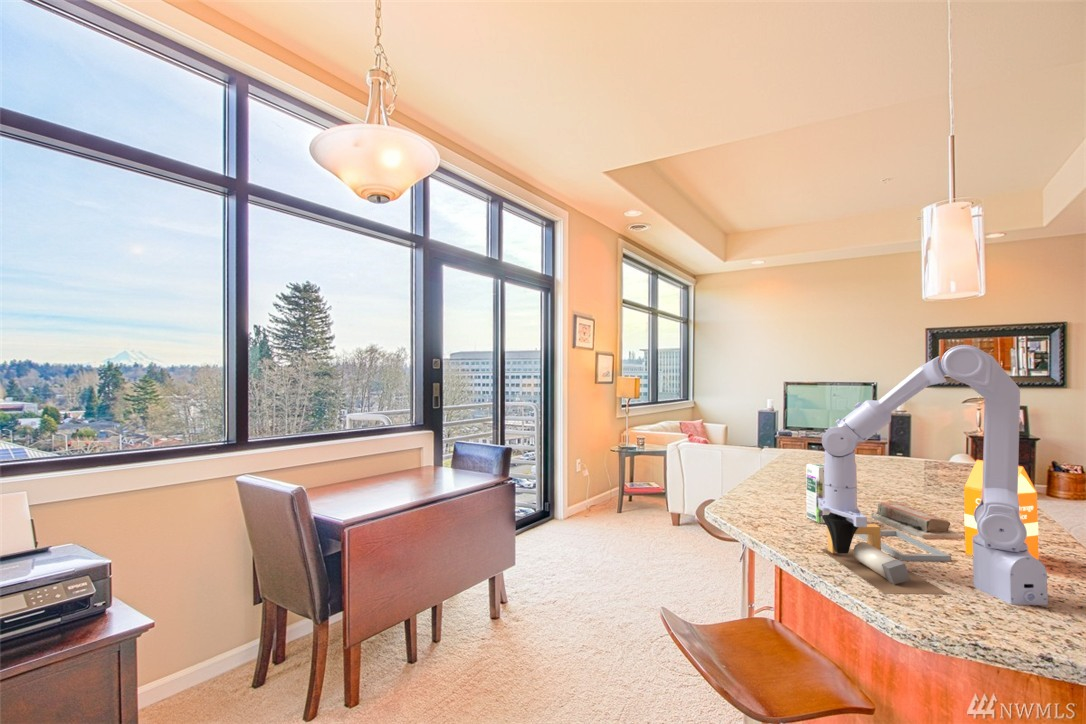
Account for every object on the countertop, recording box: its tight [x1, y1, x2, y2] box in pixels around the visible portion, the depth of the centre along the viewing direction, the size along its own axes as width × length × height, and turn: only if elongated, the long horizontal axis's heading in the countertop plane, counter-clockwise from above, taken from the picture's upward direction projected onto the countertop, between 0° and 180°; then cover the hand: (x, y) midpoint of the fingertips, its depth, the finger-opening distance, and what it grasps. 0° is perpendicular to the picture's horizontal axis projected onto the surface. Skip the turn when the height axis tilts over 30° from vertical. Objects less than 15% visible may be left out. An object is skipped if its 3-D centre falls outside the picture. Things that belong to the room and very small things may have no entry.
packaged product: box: [870, 501, 963, 540], centre depth 128 cm, size 18×5×10 cm
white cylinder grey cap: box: [852, 541, 911, 585], centre depth 96 cm, size 11×4×4 cm, turn 178°
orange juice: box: [963, 459, 1040, 561], centre depth 106 cm, size 8×9×20 cm
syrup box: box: [805, 462, 830, 524], centre depth 134 cm, size 6×6×14 cm
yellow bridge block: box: [826, 523, 882, 553], centre depth 106 cm, size 2×10×6 cm, turn 87°
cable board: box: [819, 548, 951, 596], centre depth 98 cm, size 22×11×1 cm, turn 178°
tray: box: [854, 529, 952, 562], centre depth 110 cm, size 17×10×2 cm, turn 178°
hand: (841, 552), depth 103 cm, fingers closed
